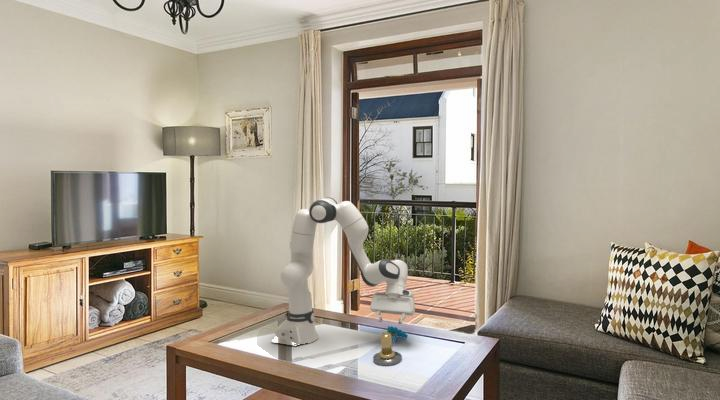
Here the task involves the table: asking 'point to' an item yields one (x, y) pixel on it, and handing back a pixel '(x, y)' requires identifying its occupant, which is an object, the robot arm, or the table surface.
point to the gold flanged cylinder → (386, 347)
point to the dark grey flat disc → (390, 362)
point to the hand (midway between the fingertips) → (389, 322)
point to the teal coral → (396, 333)
